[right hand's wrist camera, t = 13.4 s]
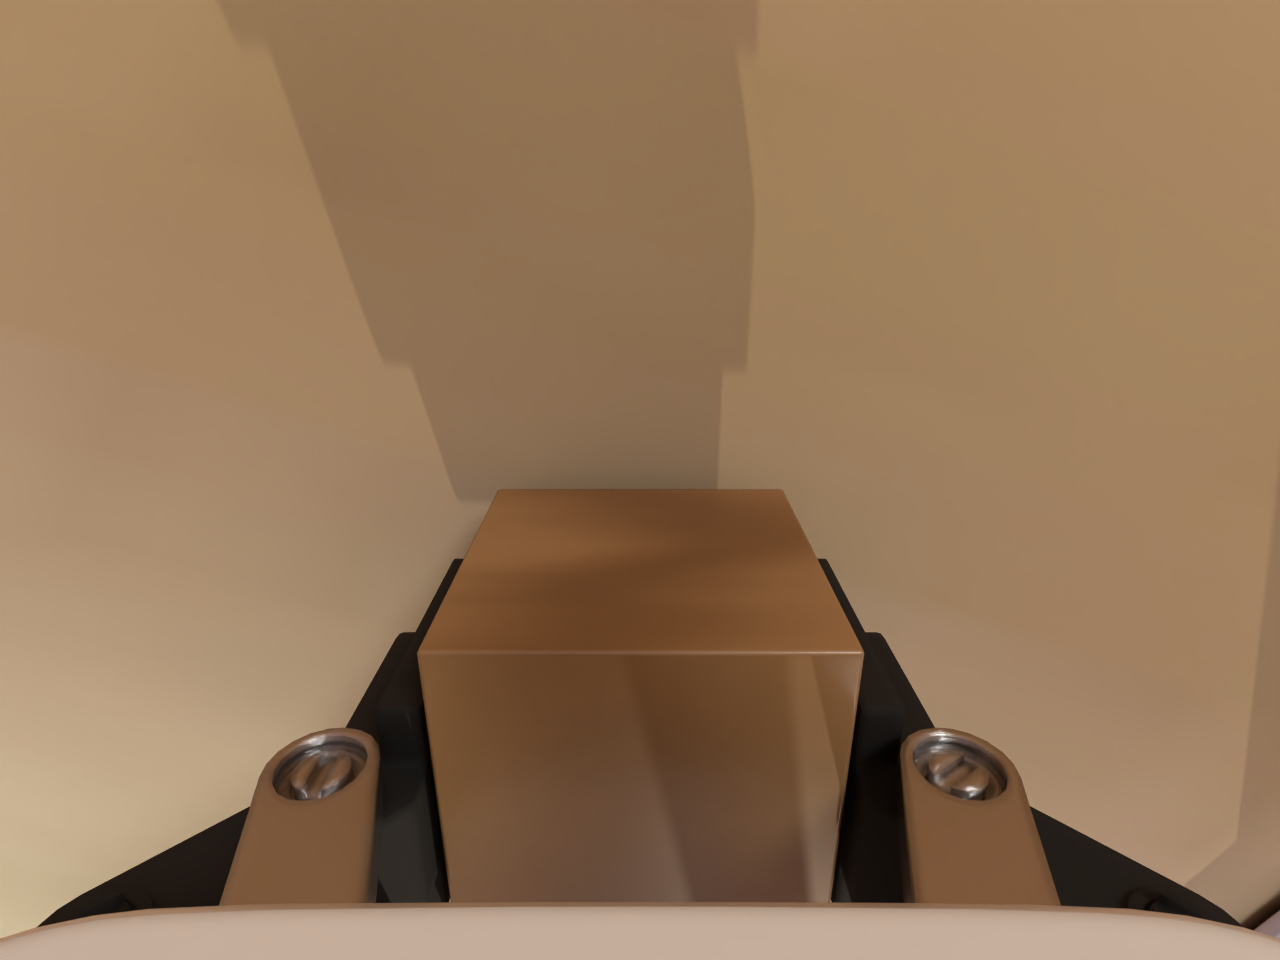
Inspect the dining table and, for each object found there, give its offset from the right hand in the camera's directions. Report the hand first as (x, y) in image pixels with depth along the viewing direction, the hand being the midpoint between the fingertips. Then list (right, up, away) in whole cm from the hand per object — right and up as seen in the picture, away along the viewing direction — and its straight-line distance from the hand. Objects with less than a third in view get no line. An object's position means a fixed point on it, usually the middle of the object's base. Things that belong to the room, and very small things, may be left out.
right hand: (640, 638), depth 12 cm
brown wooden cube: (0, 0, 0) cm, 0 cm away
